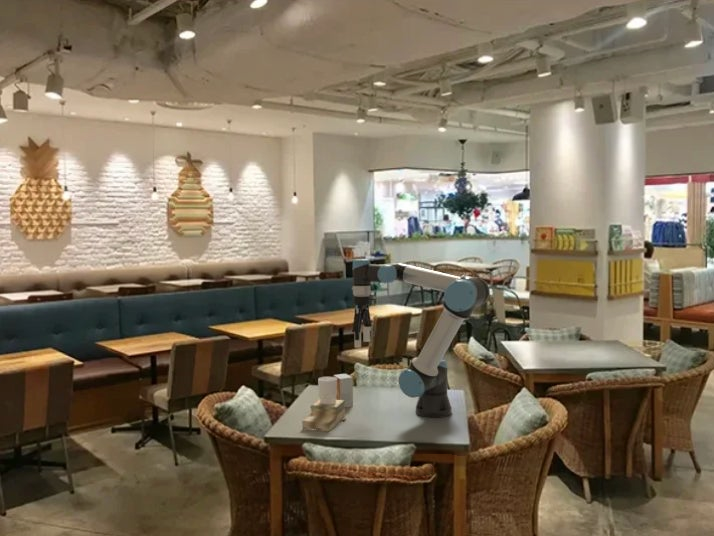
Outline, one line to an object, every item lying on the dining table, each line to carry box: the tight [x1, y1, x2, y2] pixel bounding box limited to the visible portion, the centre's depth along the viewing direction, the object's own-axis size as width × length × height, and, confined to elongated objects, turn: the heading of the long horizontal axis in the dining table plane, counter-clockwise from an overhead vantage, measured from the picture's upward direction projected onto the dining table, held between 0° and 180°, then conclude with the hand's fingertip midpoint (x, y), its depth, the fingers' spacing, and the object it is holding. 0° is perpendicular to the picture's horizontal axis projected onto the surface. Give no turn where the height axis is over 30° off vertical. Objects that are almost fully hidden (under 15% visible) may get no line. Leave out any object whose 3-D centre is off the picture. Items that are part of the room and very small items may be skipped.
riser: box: [301, 398, 347, 432], centre depth 264 cm, size 13×20×7 cm, turn 163°
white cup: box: [317, 376, 337, 405], centre depth 268 cm, size 8×8×10 cm
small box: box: [332, 373, 354, 408], centre depth 290 cm, size 8×6×13 cm
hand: (362, 344), depth 279 cm, fingers open, 13 cm apart
